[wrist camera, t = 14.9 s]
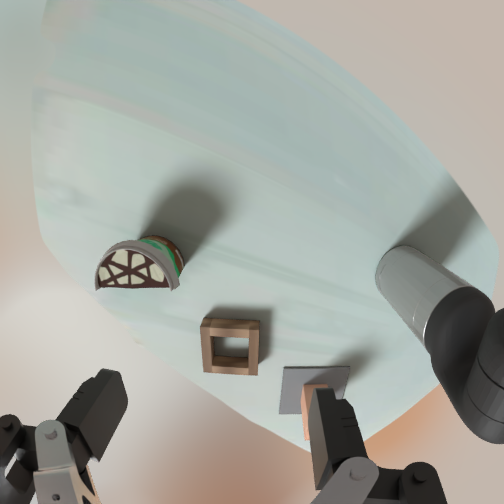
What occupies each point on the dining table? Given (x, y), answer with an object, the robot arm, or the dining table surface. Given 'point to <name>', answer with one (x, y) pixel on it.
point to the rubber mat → (309, 376)
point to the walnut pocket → (229, 329)
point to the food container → (140, 264)
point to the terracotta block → (307, 404)
